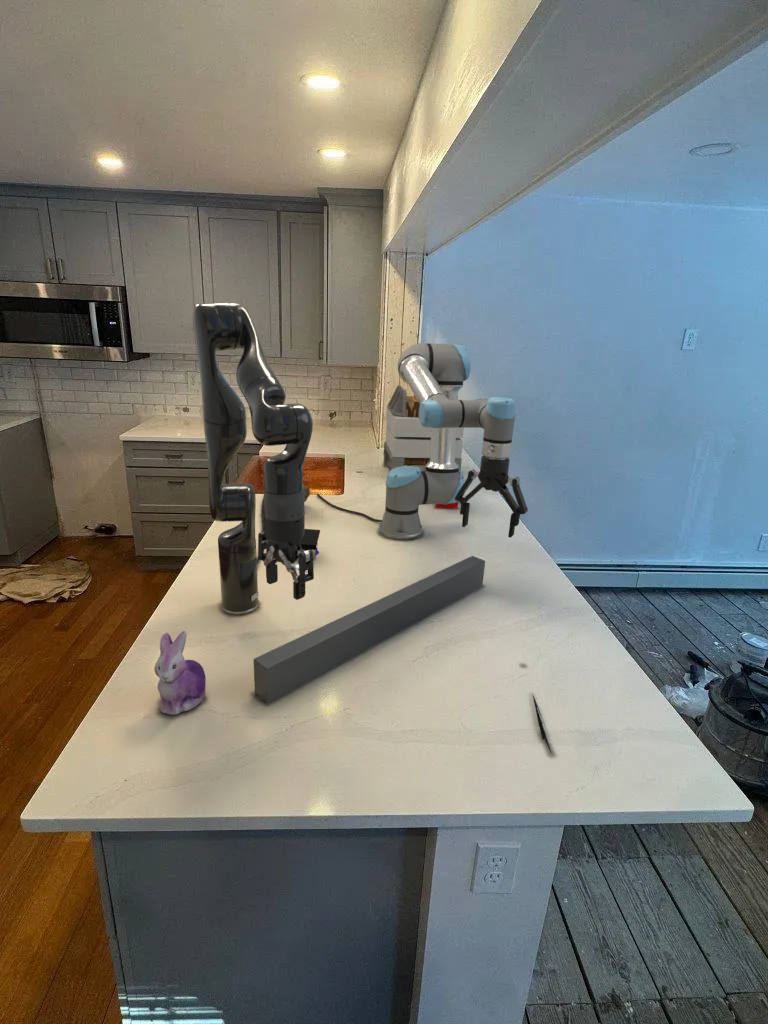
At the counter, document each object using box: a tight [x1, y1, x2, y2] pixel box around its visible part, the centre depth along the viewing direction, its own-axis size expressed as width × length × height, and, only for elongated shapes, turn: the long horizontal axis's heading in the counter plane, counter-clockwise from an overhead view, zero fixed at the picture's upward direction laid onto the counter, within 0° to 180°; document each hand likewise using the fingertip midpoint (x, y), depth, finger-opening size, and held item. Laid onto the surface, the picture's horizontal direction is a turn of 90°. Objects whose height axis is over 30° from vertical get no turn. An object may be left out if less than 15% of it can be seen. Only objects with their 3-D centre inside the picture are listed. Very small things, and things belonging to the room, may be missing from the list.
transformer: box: [383, 384, 465, 472], centre depth 268 cm, size 34×33×41 cm
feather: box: [522, 663, 555, 753], centre depth 115 cm, size 2×28×2 cm
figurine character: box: [300, 528, 321, 562], centre depth 176 cm, size 7×8×15 cm
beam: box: [252, 555, 486, 704], centre depth 138 cm, size 75×5×8 cm, turn 137°
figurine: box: [153, 630, 207, 716], centre depth 109 cm, size 9×10×15 cm
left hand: (285, 590), depth 111 cm, fingers open, 8 cm apart
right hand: (487, 530), depth 158 cm, fingers open, 13 cm apart
